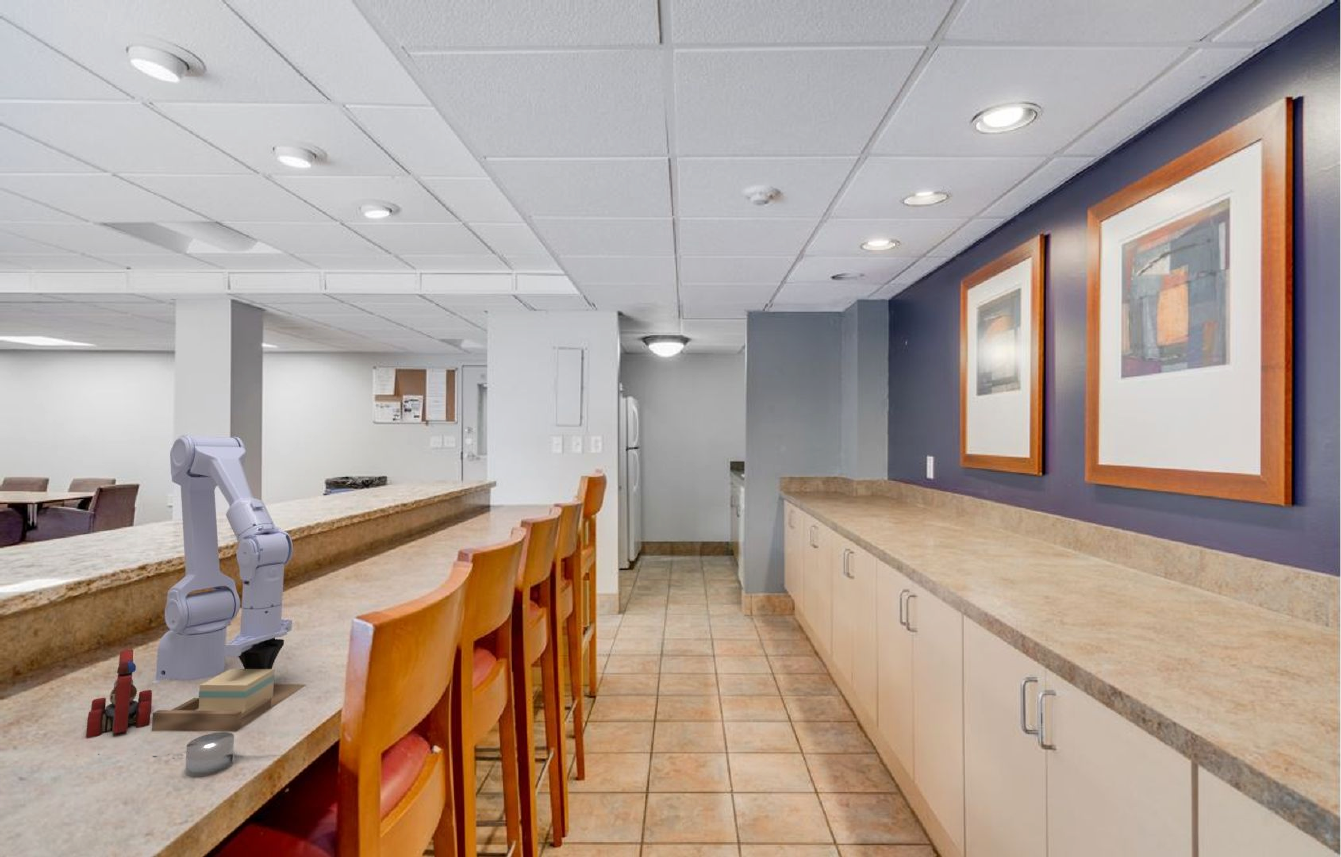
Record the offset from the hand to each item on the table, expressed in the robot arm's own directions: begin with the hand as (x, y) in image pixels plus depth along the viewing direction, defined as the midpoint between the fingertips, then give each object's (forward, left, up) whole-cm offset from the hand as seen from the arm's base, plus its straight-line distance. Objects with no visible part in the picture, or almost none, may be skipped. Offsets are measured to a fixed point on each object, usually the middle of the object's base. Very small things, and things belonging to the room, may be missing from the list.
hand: (258, 686), depth 102 cm
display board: (0, -5, -2) cm, 6 cm away
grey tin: (+8, -22, -2) cm, 24 cm away
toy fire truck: (-13, -11, -2) cm, 17 cm away
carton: (0, -5, -1) cm, 5 cm away
